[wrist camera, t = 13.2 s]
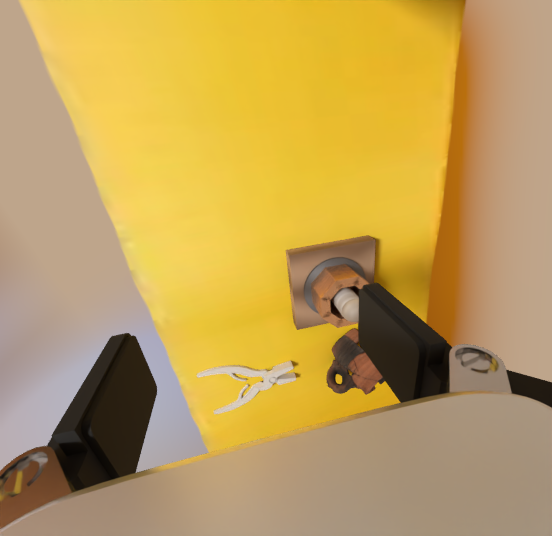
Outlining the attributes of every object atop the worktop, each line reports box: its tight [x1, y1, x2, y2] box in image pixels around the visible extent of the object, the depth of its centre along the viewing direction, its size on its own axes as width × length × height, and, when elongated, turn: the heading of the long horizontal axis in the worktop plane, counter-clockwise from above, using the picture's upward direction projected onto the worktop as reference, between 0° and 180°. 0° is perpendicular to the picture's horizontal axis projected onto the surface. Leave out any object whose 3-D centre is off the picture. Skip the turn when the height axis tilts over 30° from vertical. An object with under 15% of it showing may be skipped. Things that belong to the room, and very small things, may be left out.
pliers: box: [197, 361, 296, 414], centre depth 44 cm, size 10×2×15 cm
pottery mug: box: [327, 328, 385, 394], centre depth 44 cm, size 12×10×8 cm
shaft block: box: [286, 236, 375, 330], centre depth 35 cm, size 12×12×10 cm
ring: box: [311, 264, 369, 328], centre depth 35 cm, size 7×7×4 cm
